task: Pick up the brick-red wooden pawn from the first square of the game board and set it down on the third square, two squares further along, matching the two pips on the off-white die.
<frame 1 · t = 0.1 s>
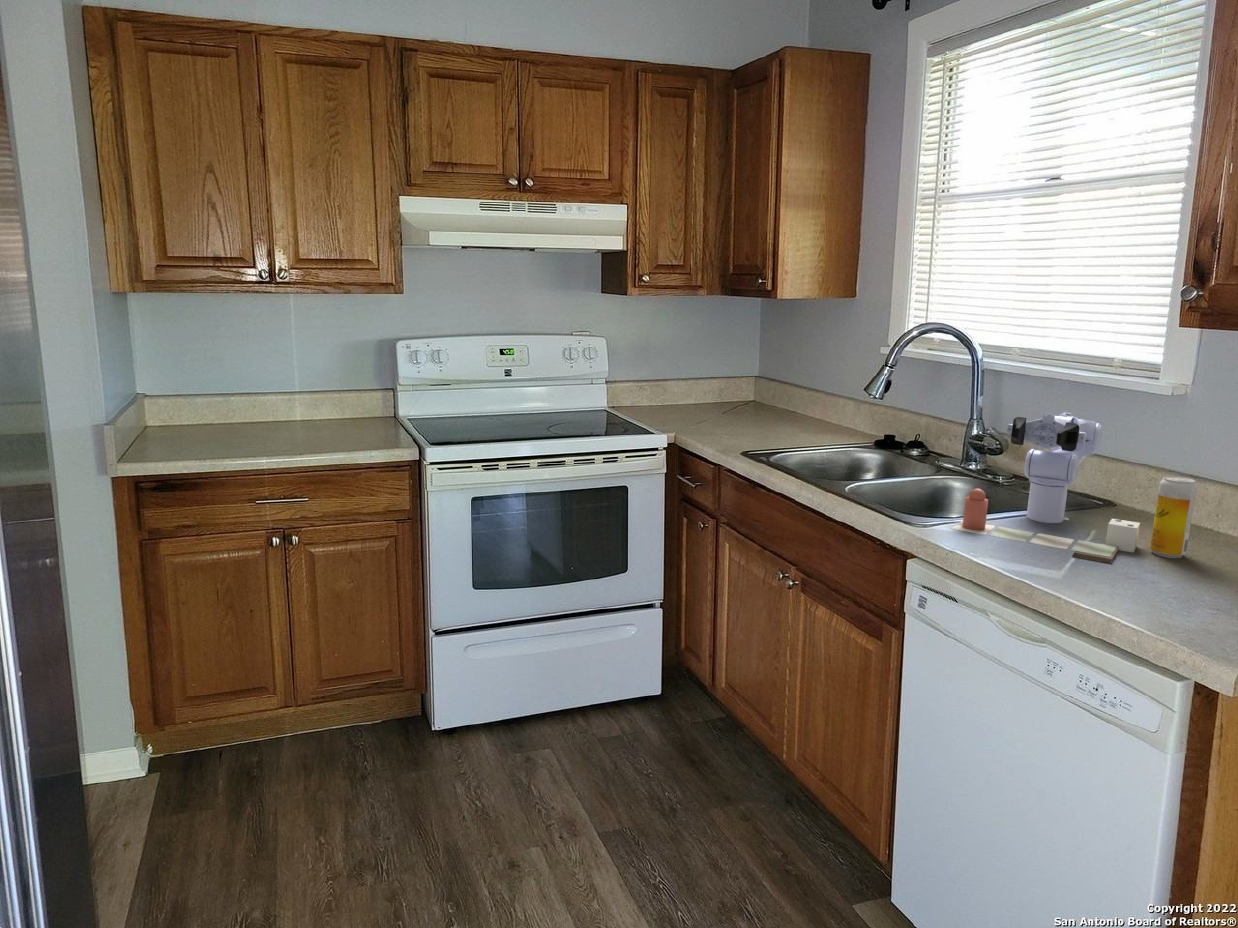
hand: (1037, 435, 182), 22 cm above the counter, tool horizontal, fingers open, 7 cm apart
pawn: (973, 527, 193), point 1 cm above the counter, touching board
board: (1031, 542, 187), on the counter
die: (1120, 547, 185), on the counter
beer can: (1167, 555, 181), on the counter
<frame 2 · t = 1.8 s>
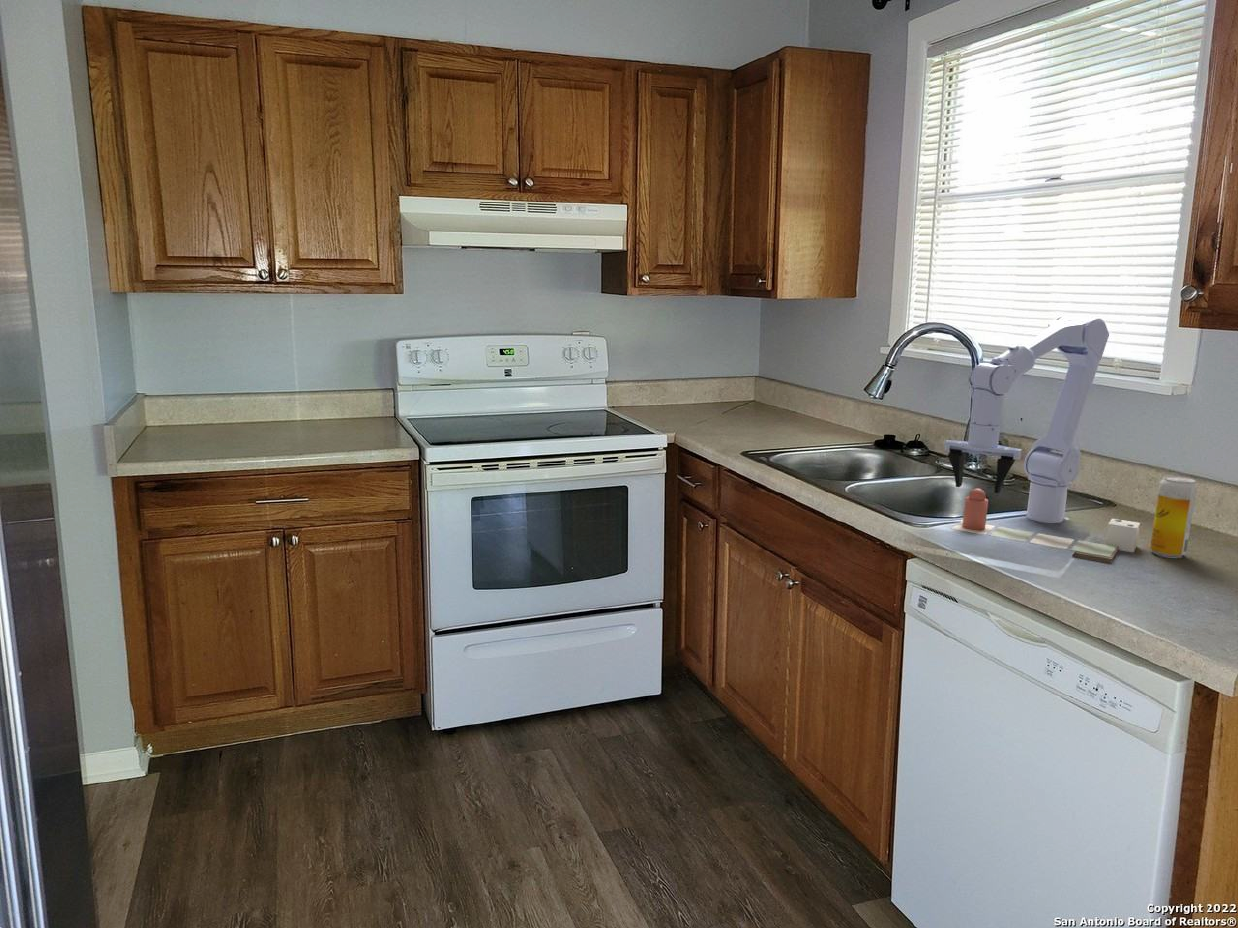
hand: (977, 489, 191), 9 cm above the counter, tool pointing down, fingers open, 7 cm apart
nothing on the counter moved.
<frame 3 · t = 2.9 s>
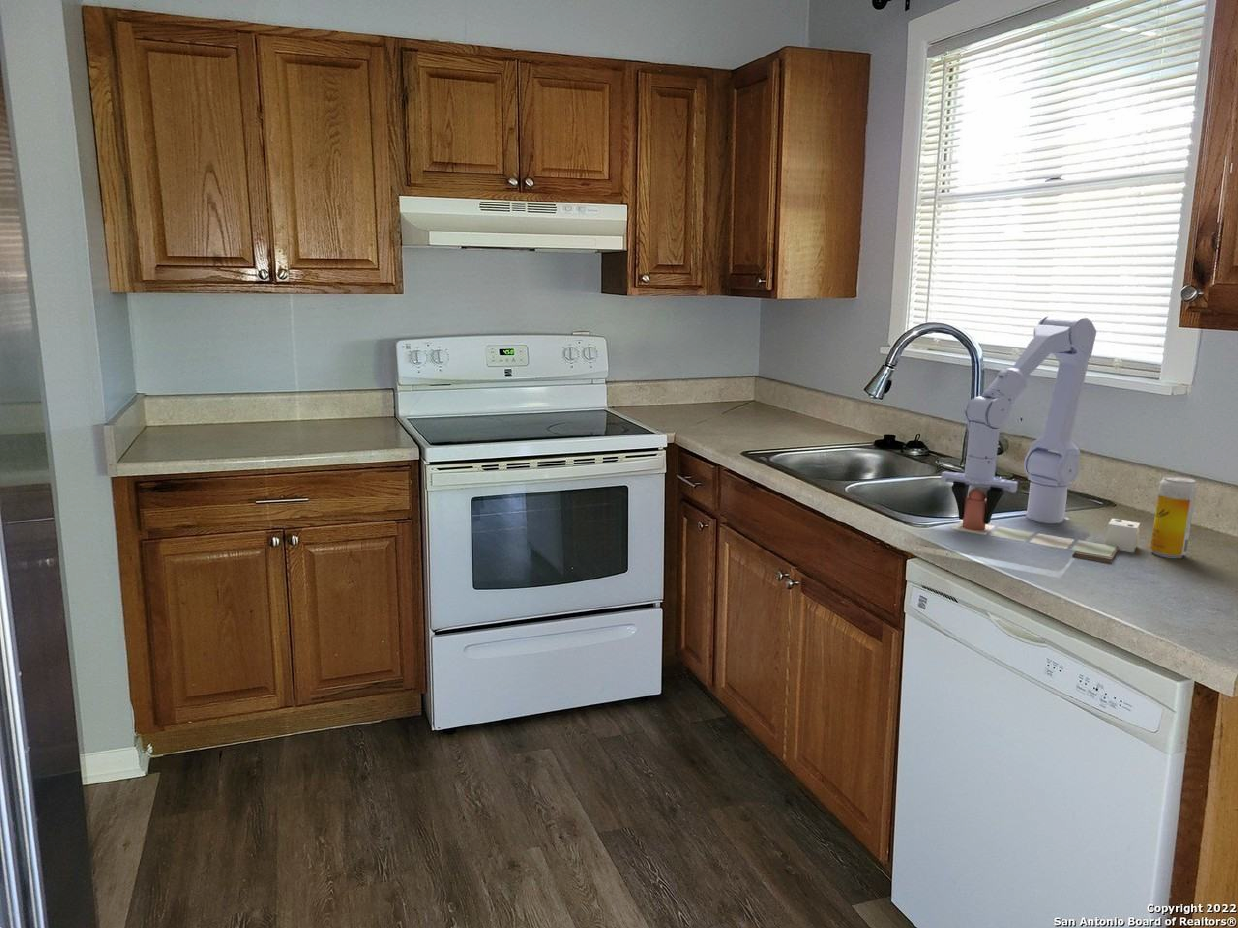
hand: (974, 520, 192), 2 cm above the counter, tool pointing down, fingers closed on pawn, 4 cm apart
pawn: (973, 527, 193), point 1 cm above the counter, touching board, gripper
everything else where it was.
when the fingers open (3 cm above the counter, at t = 6.8 s): pawn stays where it is, resting on board.
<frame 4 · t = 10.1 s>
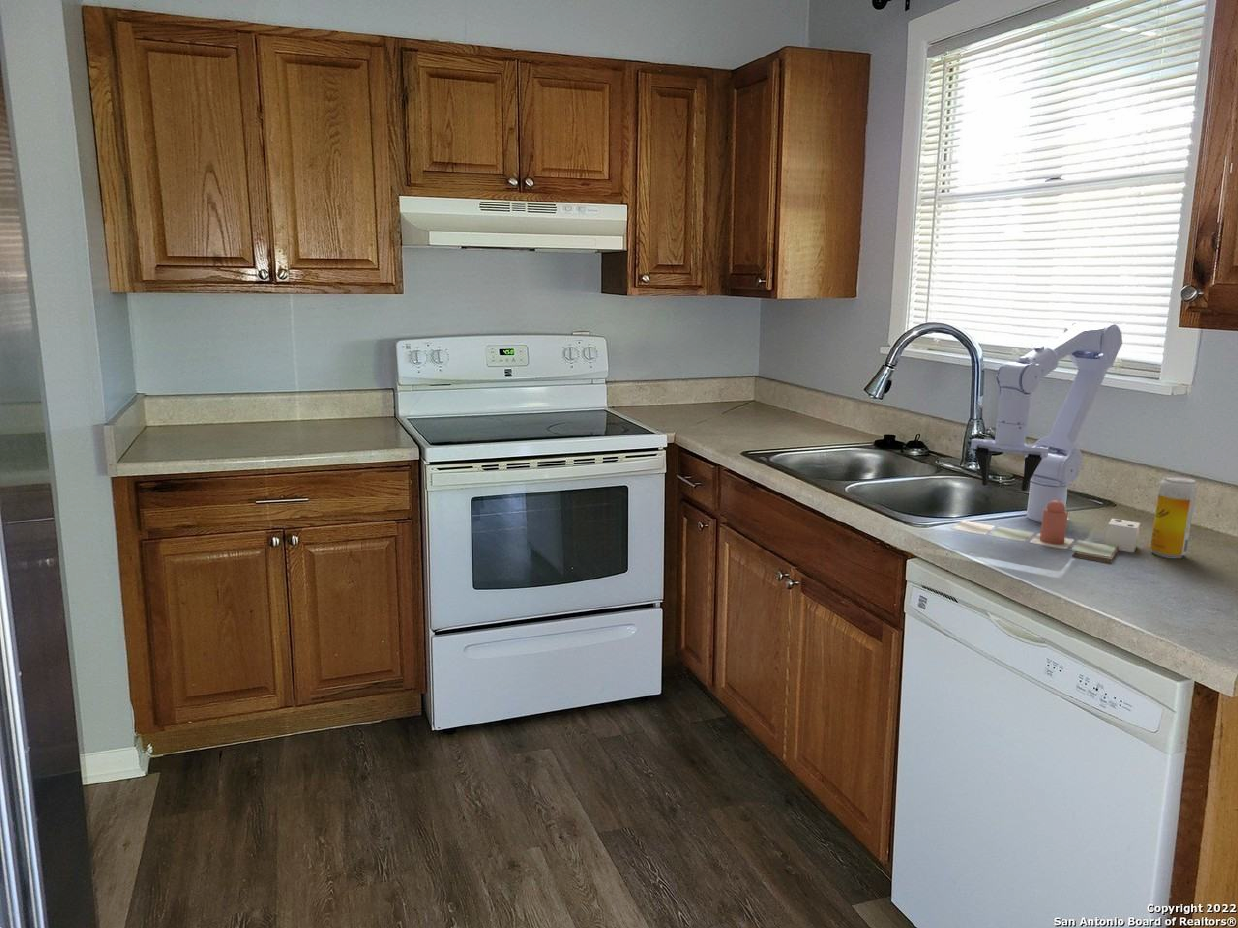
hand: (1004, 487, 192), 9 cm above the counter, tool pointing down, fingers open, 7 cm apart
pawn: (1051, 540, 184), point 1 cm above the counter, touching board
everything else where it was.
at the end: pawn 0.1 cm from the target spot on the board, point 1.0 cm above the board's base; pawn tilted 1°; the gripper is holding nothing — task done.
